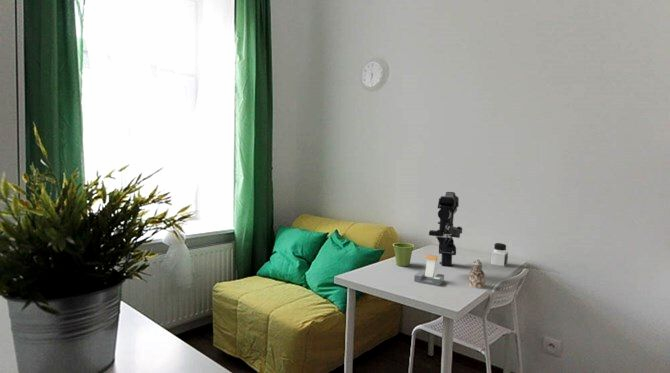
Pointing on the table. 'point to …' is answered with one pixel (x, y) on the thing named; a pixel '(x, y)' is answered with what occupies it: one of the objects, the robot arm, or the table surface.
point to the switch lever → (430, 265)
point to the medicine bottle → (499, 255)
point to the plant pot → (403, 253)
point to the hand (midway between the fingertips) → (443, 250)
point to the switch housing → (429, 278)
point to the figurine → (477, 276)
